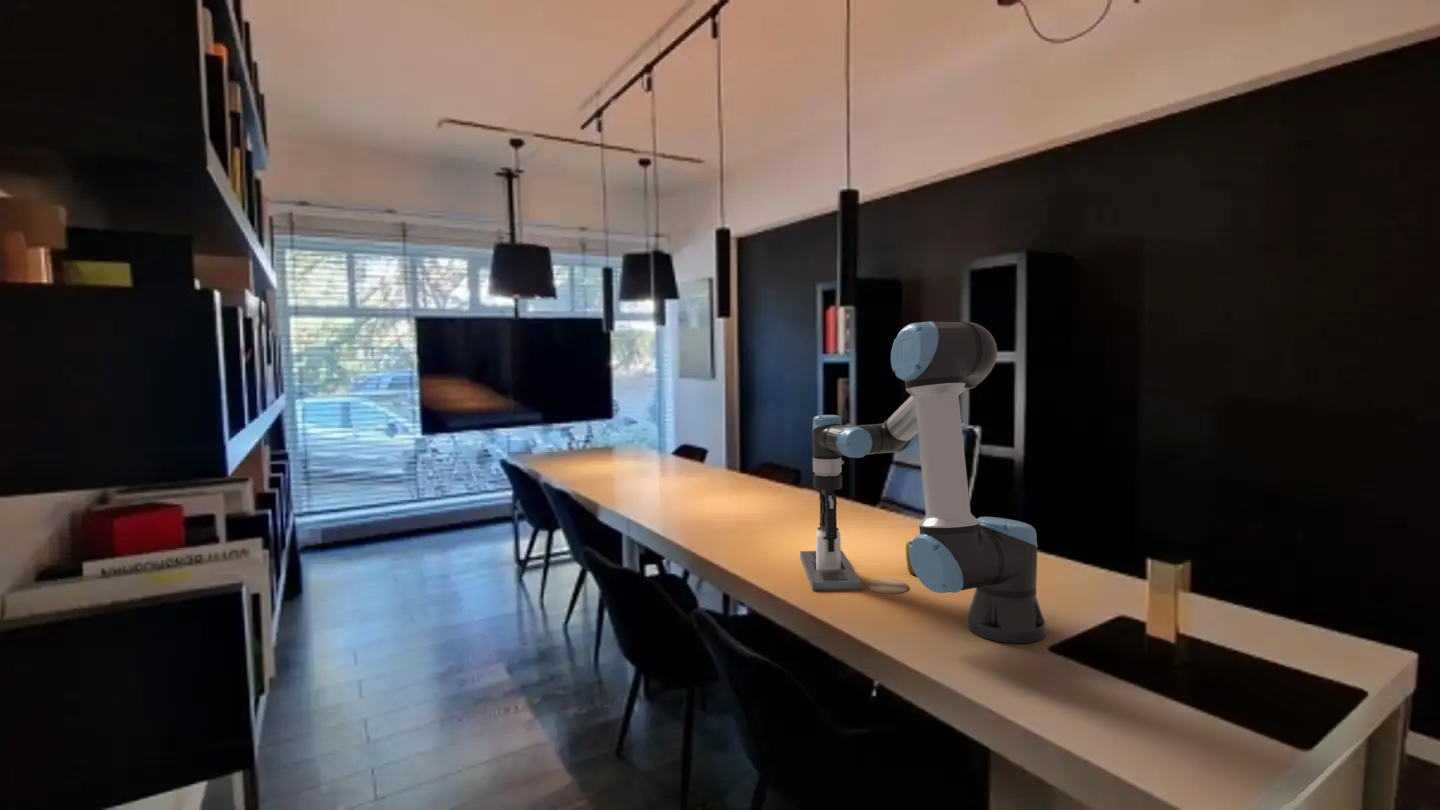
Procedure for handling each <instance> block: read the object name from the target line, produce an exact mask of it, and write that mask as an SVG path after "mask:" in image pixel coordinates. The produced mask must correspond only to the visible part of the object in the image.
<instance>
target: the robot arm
mask: <svg viewBox="0 0 1440 810" xmlns="http://www.w3.org/2000/svg"><path fill="white" fill-rule="evenodd" d="M997 355H998V347H997V343H996V341H995V338H994V337H993V335H992V334H991V332H990V331H989V330H987V329H986V328H985V327H984V326H982V325H980V324H979V323H975V322H971V321H959V322H956V321H953V322H952V321H929V320H928V321H922V322H913V323H909V324H907V325H906V326H904V327H903V328H902V329H900V331H899V332H898V334H897V336H896V338H894V341H893V343H892V348H891V351H890V364H891V368H892V371H893V373H895V374H894V375H895V376H896V378H898V379H900V380H902V382H903V381H904V384H905V391H906V392H907V393H908V394H909V395H910V396H909V397H908V398H907V399H906V400H905V401H904V402H903V403H902V404H901V405H900V406H899V407H898V409H896V410H895V411H894V412H893V413H892V414H891V415H890V417H888V419H886V420H885V421H884V422H883V423H876V424H875V423H874V424H873V423H871V424H859V425H857V424H855V425H844V424H843V423H842V417H840V415H836V414H822V415H816V416H814V417H813V419H812V429H811V432H812V454H813V455H812V472H813V473H814V474H813V475H812V476H813V477H812V478H813V479H812V480H813V481H812V482H813V483H812V485H813V488H814V489H816V490H819V493H818V494H819V496H818V497H819V498H818V499H819V527H822V526H825V532H826V536H825V537H823V540H824V539H825V564H831V563H836V539H837V528H838V524H837V504H838V502H837V495H835V493H834V491H838V490H841V489H842V488H843V475H842V474H841V473H842V470H843V469H842V466H843V465H844V463H845V461H844V460H843V459H842V457H843V456H845V457H847V458H849V459H850V458H851V459H853V458H855V459H859V458H864V457H865V456H867V455H875V454H888V453H889V454H890V453H891V454H892V453H898V454H899V453H902V452H905V451H910V450H911V449H912V448H914V445H915V442H916V437H917V436H918V437H917V438H918V439H917V440H918V447H919V457H920V469H921V480H922V489H923V497H924V500H923V501H924V507H925V508H924V509H925V510H924V511H925V516H924V517H923V519H921V521H920V522H919V523H918V527H919V534H918V535H917V536H915V537H914V538H913V539H912V540H911V541H912V544H911V545H910V549H909V555H910V561H911V565H912V568H913V570H914V572H915V574H916V575H915V576H916V578H917V579H918V580H919V581H920V582H921V584H922V585H923V586H924V587H926V589H928V590H929V591H931V592H933V593H936V594H947V593H953V594H955V593H959V592H961V591H966V590H971V589H975V591H974V594H973V597H972V599H971V603H970V606H969V609H968V611H967V615H966V626H967V628H968V630H969V631H971V632H972V633H974V634H975V635H977V636H979V637H981V638H984V639H987V640H990V641H994V642H999V643H1006V644H1031V643H1035V642H1038V641H1042V640H1043V639H1044V638H1045V636H1046V622H1045V619H1044V616H1043V613H1042V610H1041V606H1040V604H1039V601H1038V598H1037V581H1038V580H1037V579H1038V578H1037V573H1038V572H1037V571H1038V547H1039V545H1038V541H1037V538H1038V537H1037V531H1036V529H1035V527H1033V525H1031V524H1028V523H1026V522H1023V521H1019V520H1015V519H1009V518H1003V517H994V516H980V517H978V518H976V517H975V515H973V514H972V513H971V505H970V497H969V496H970V495H969V486H968V475H967V468H966V467H967V466H966V464H967V463H966V457H965V455H966V454H965V444H964V438H963V437H964V436H963V427H962V417H961V416H962V415H961V407H960V398H959V396H960V395H961V394H962V393H963V392H964V391H966V389H967V390H968V389H969V390H970V389H974V388H976V387H977V386H978V385H979V384H980V383H982V382H983V381H984V380H985V379H986V378H987V377H988V375H989V374H990V373H991V372H992V370H993V369H994V366H995V365H996V362H997V358H998V356H997Z"/></svg>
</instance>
